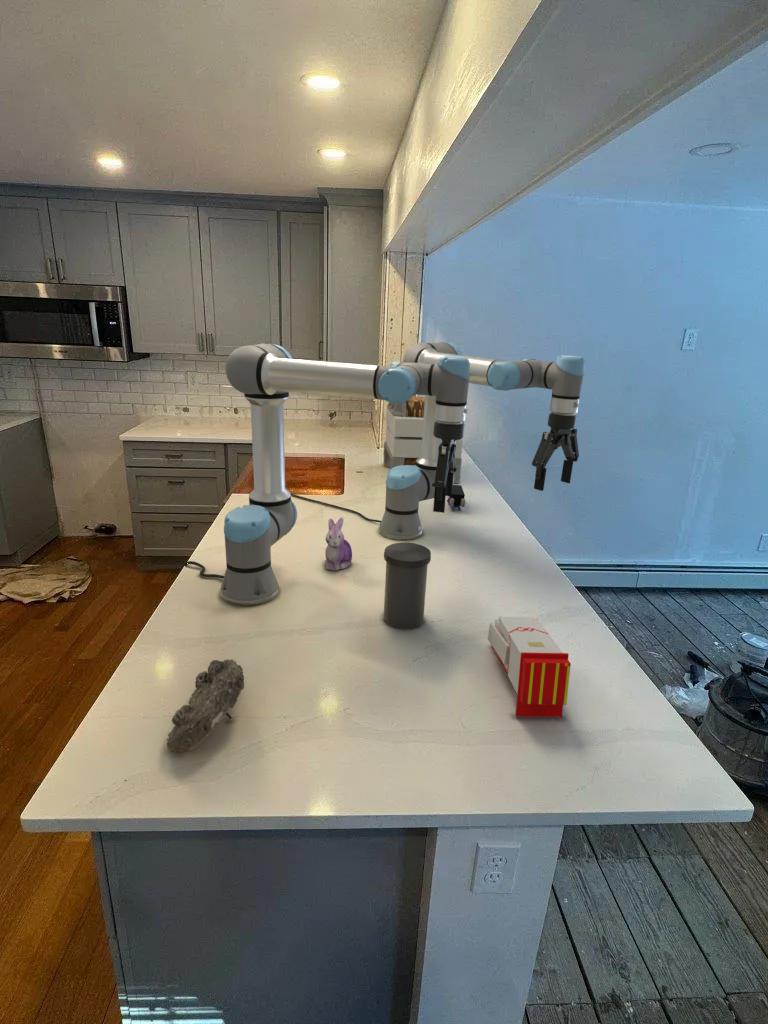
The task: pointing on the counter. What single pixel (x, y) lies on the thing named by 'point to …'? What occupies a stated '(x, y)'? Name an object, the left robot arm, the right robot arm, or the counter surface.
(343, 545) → the figurine
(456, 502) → the figurine character
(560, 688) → the toy
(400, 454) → the white slatted box
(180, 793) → the counter surface
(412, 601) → the jar
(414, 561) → the lid
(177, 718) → the fossil
